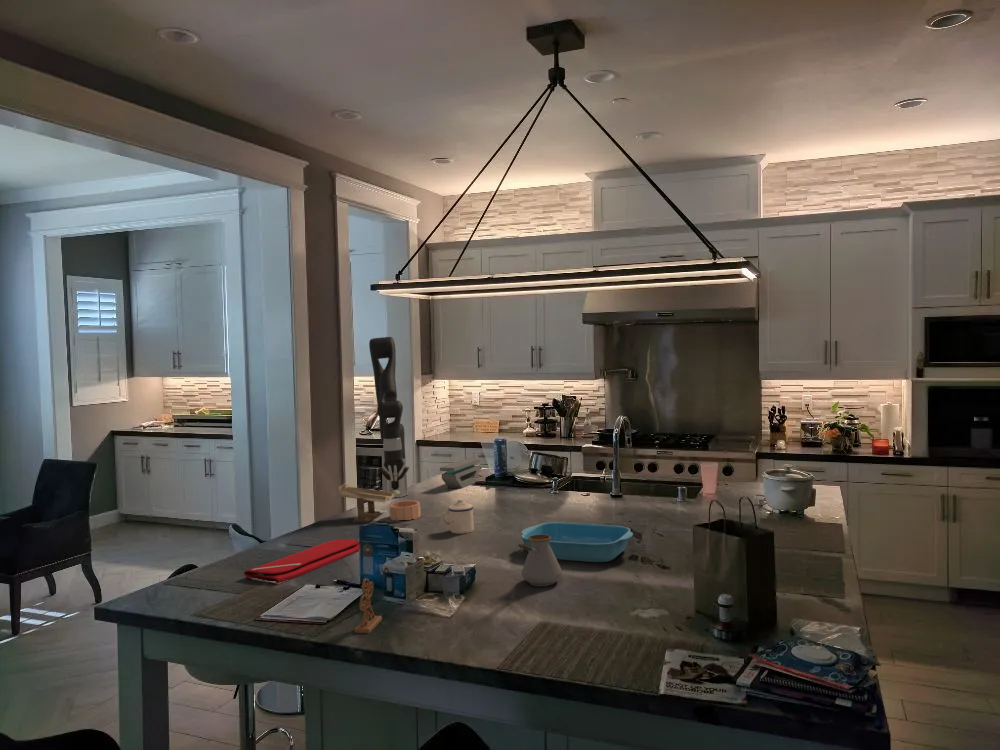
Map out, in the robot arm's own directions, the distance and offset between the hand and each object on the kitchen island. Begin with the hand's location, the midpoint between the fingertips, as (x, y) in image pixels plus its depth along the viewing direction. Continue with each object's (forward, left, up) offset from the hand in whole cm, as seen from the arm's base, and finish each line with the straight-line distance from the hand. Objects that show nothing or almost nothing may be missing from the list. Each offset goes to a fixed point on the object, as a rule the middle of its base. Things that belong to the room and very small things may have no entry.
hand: (395, 489), depth 311 cm
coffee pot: (+92, +73, -9) cm, 118 cm away
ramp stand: (+11, -9, -9) cm, 17 cm away
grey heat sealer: (-51, +15, -9) cm, 54 cm away
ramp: (+6, -9, -1) cm, 11 cm away
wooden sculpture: (+121, +35, -9) cm, 126 cm away
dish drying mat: (+70, -6, -10) cm, 71 cm away
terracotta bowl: (+11, +8, -9) cm, 16 cm away
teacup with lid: (+32, +35, -9) cm, 48 cm away
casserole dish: (+59, +81, -10) cm, 101 cm away
